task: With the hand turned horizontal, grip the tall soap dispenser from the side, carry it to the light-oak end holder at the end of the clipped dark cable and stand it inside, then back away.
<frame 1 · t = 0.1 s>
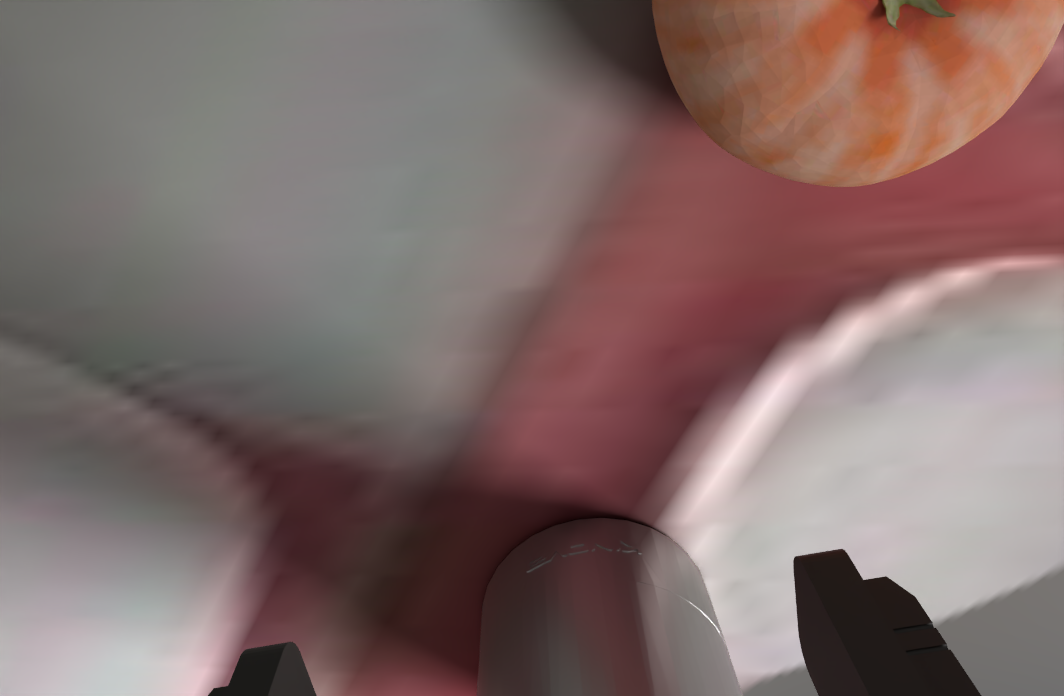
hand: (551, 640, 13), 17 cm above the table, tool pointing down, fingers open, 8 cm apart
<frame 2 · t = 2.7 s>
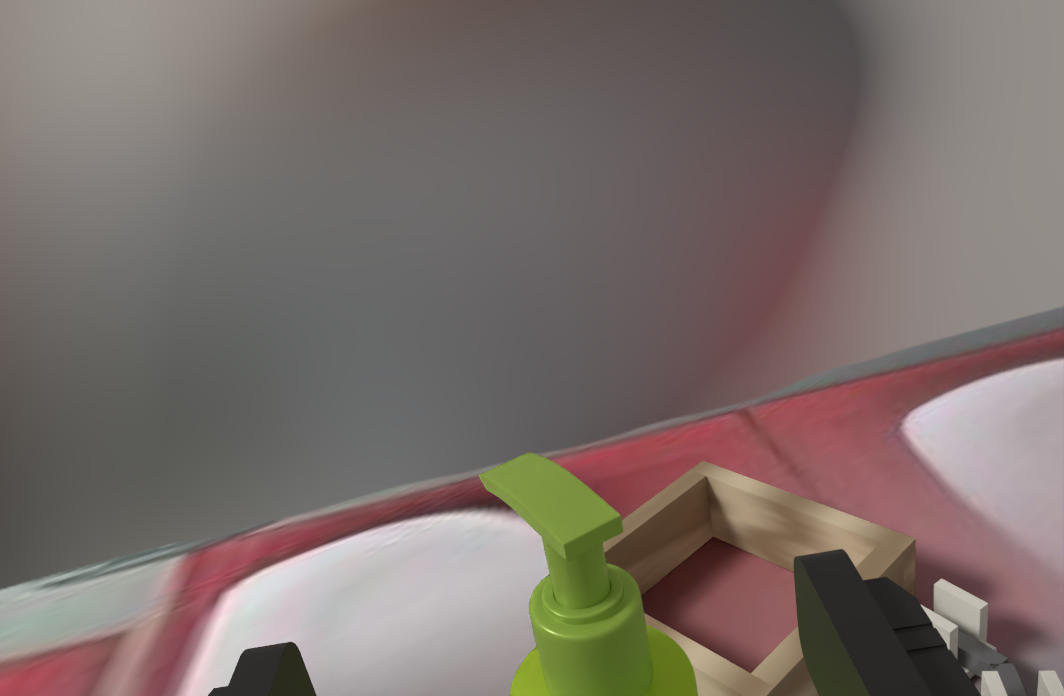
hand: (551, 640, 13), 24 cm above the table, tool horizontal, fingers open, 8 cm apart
end holder: (732, 625, 46), on the table
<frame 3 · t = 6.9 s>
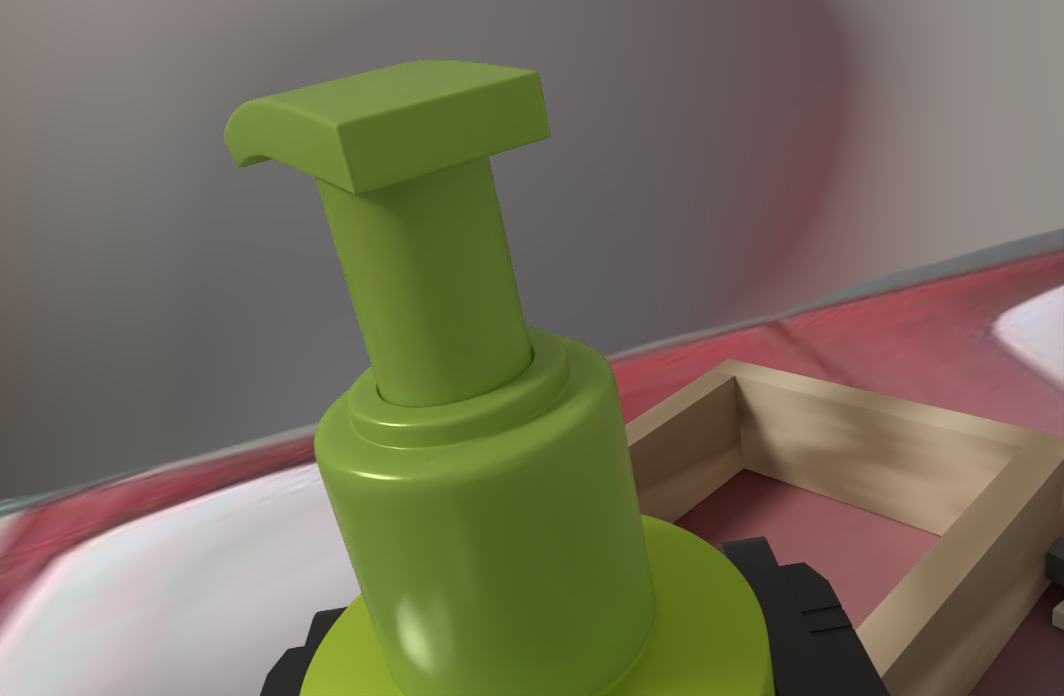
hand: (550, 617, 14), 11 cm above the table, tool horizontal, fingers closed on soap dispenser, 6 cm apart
end holder: (781, 586, 30), on the table
when the fingers open (12 cm above the table, at t = 12.1 s): soap dispenser drops 1 cm, resting in end holder.
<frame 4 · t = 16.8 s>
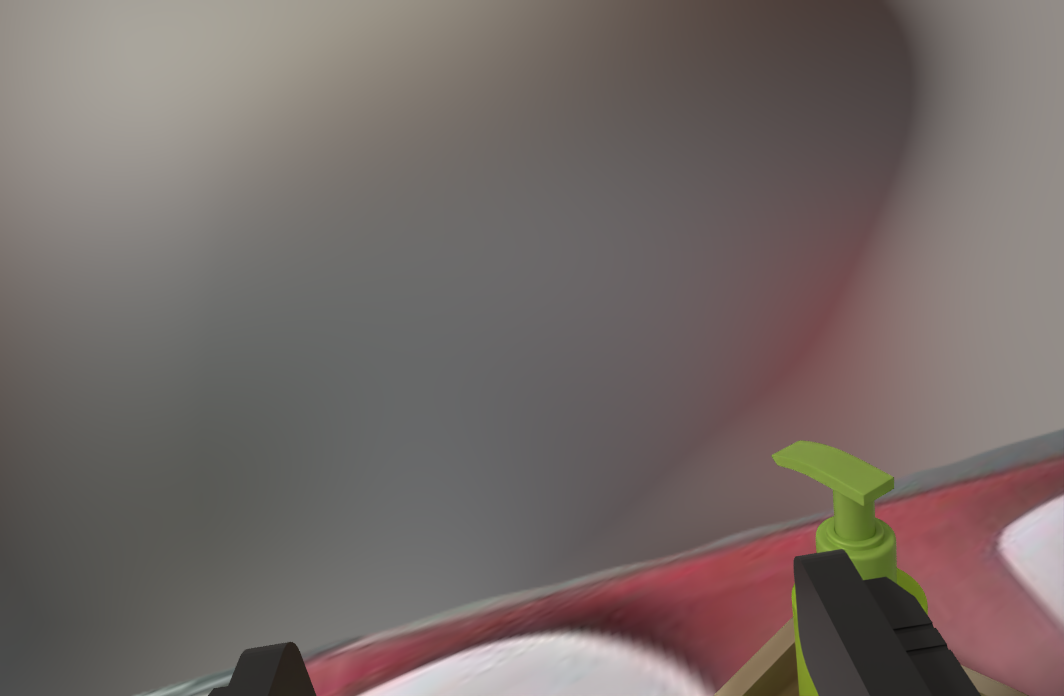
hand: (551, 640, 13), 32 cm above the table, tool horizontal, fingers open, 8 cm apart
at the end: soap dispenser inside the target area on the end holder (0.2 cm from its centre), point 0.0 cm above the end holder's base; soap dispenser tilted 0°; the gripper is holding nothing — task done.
